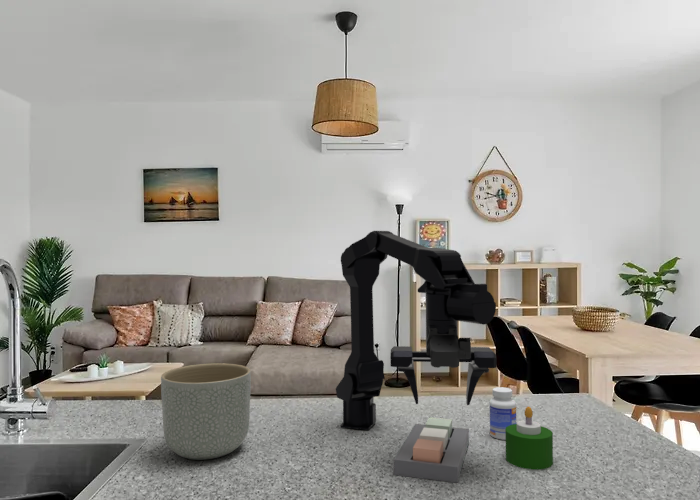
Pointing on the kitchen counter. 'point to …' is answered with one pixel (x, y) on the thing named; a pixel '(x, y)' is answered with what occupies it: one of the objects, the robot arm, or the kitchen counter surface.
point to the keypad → (429, 470)
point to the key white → (435, 435)
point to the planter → (205, 409)
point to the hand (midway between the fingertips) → (442, 404)
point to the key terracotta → (428, 450)
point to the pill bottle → (501, 412)
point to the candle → (529, 444)
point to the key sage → (440, 424)
